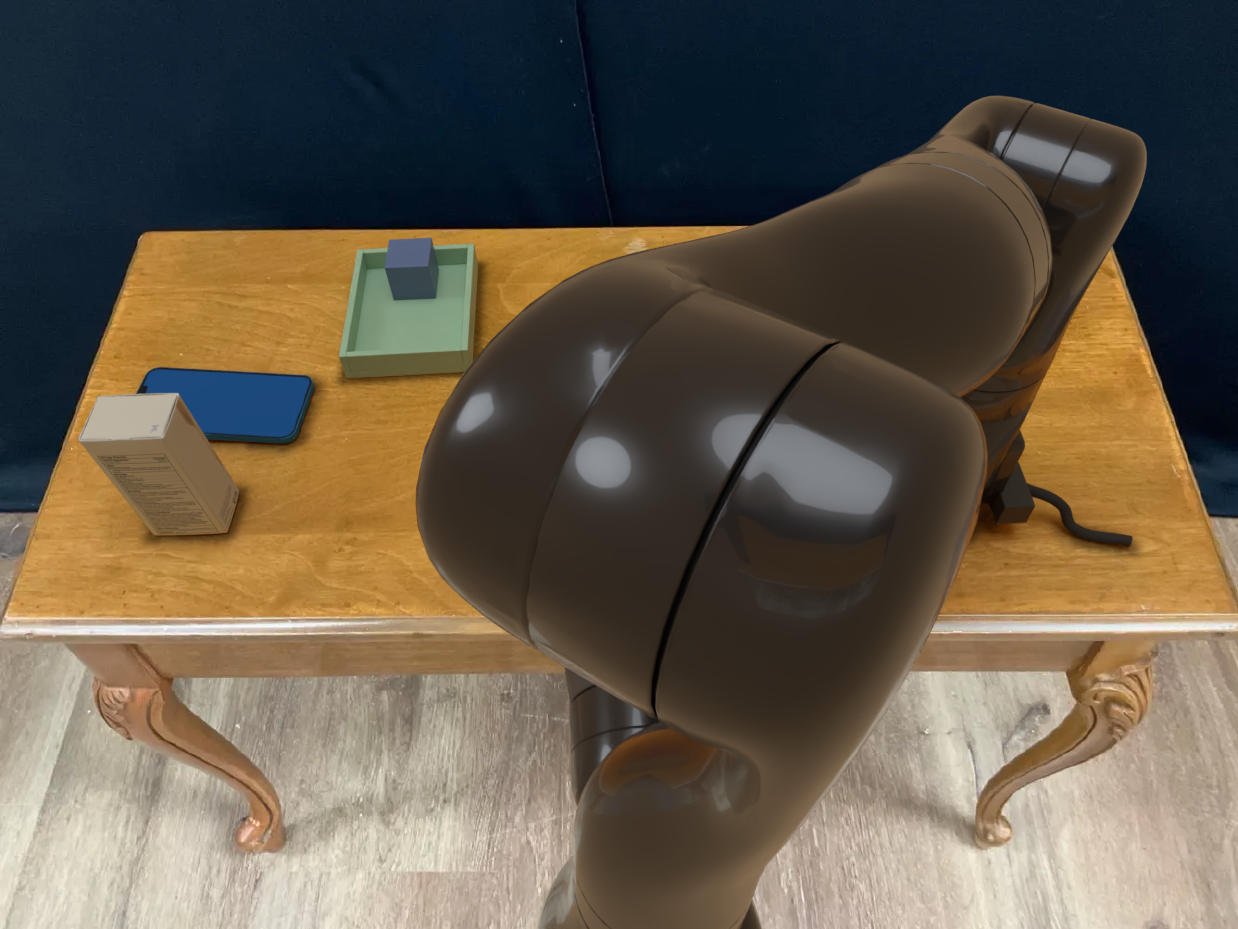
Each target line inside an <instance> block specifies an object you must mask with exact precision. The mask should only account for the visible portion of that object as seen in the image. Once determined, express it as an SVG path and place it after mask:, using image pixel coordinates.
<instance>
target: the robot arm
mask: <svg viewBox="0 0 1238 929" xmlns="http://www.w3.org/2000/svg"><path fill="white" fill-rule="evenodd" d="M1147 156H1148V155H1147V147H1146V144H1145V141H1144V140H1143V139H1142V137H1141V136H1140V135H1139V134H1137V133H1135V132H1133V131H1131V130H1129V129H1126V128H1123V127H1120V126H1117V125H1114V124H1111V123H1107V122H1104V121H1100V120H1097V119H1094V118H1090V117H1086V116H1084V115H1079V114H1076V113H1073V112H1070V111H1066V110H1063V109H1059V108H1056V107H1052V106H1048V105H1046V104H1042V103H1038V102H1036V103H1035V102H1034V101H1031V100H1027V99H1023V98H1019V97H1013V96H1007V95H989V96H988V95H987V96H984V97H981V98H979V99H976V100H974V101H972V102H970V103H969V104H967V105H966V106H964V107H963V108H962V109H961V110H960V111H959V112H958V113H956V114H955V115H954V116H953V117H952V118H951V119H950V120H949V121H948V122H947V123H946V124H944V126H942V128H940V129H939V130H938V131H937V132H936V133H935V134H934V135H933V136H932V137H931V138H930V139H928V141H927V142H925V143H923V144H922V145H920V146H919V147H917V148H916V149H914V150H912V151H910V152H909V153H907V154H904V155H901V156H898V157H896V158H893V159H890V160H888V161H886V162H883V163H882V164H880V165H878V166H877V167H874V168H872V169H870V170H868V171H866V172H864V173H861V174H860V175H858V176H856V177H854V178H851V179H850V180H849V181H847V182H846V183H844V184H842V185H841V186H840V187H838V188H837V189H835V190H833V191H832V192H830V193H828V194H825V195H823V196H820V197H817V198H816V199H813V200H810V201H808V202H806V203H804V204H801V205H798V206H796V207H794V208H791V209H788V210H787V211H785V212H783V213H780V214H777V215H776V216H774V217H771V218H769V219H768V218H767V219H766V220H763V221H761V222H758V223H754V224H752V225H749V226H745V227H742V228H739V229H736V230H732V231H729V232H723V233H718V234H714V235H709V236H705V237H701V238H700V237H699V238H696V239H691V240H687V241H682V242H676V243H672V244H668V245H663V246H659V247H654V248H649V249H645V250H639V251H635V252H631V253H628V254H625V255H620V256H617V257H614V258H610V259H607V260H605V261H602V262H599V263H597V264H594V265H592V266H589V267H587V268H584V269H582V270H580V271H578V272H577V273H575V274H572V275H570V276H569V277H567V278H564V279H563V280H561V281H560V282H559V283H557V284H555V285H554V286H553V287H551V288H550V289H549V290H547V291H546V292H543V294H541V295H539V297H537V298H536V299H534V300H533V301H531V302H530V303H528V305H526V306H525V307H524V308H523V309H522V310H521V311H520V312H519V313H517V314H516V315H515V317H514V318H512V319H511V320H510V321H509V322H508V323H507V324H506V325H505V326H503V327H502V328H501V329H500V330H499V331H498V332H497V333H496V334H495V335H494V336H493V337H492V338H491V339H490V340H489V342H487V344H486V345H485V346H484V348H482V350H481V352H479V354H478V355H477V356H476V357H475V359H473V363H472V364H471V365H470V366H469V367H468V369H467V370H466V371H465V372H463V373H462V374H461V376H460V378H459V380H458V381H457V383H456V384H455V386H454V388H453V389H452V390H451V392H450V394H449V396H448V397H447V399H446V400H445V402H444V404H443V406H442V407H441V408H440V411H439V412H438V415H437V418H436V420H435V422H434V424H433V427H432V429H431V431H430V434H429V436H428V439H427V441H426V443H425V446H424V450H423V453H422V458H421V463H420V468H419V472H418V477H417V482H416V487H415V514H416V525H417V528H418V532H419V534H420V538H421V541H422V544H423V547H424V550H425V552H426V555H427V559H428V560H429V561H430V563H431V565H432V566H433V568H434V570H436V572H437V574H438V575H439V577H440V578H441V579H442V580H443V581H444V582H445V584H447V586H449V587H450V589H452V590H453V592H455V593H456V594H457V595H458V596H459V597H460V598H461V599H463V601H465V602H466V603H467V604H469V605H470V606H471V607H473V608H474V609H475V610H476V611H477V612H478V613H479V614H481V615H482V616H483V617H484V618H486V619H488V620H489V621H490V622H492V623H493V624H495V625H496V626H497V627H499V628H500V629H502V630H503V631H505V632H506V633H507V634H509V635H511V636H513V637H514V638H515V639H517V640H518V641H520V642H522V643H524V644H525V645H527V646H528V647H530V648H532V649H535V650H536V651H538V652H540V654H542V655H544V656H545V657H547V658H549V659H550V660H552V661H554V662H555V663H558V664H559V665H560V666H563V667H564V674H565V675H564V676H565V681H566V687H567V693H568V699H569V700H568V701H569V730H570V732H569V733H570V734H569V735H570V736H569V737H570V738H569V739H570V768H571V769H570V772H571V788H572V796H573V800H574V803H575V805H576V811H575V816H574V823H573V834H572V855H571V856H570V858H569V859H568V860H567V861H566V862H565V863H564V864H563V866H562V868H561V869H560V870H559V871H558V873H557V874H556V877H555V878H554V879H553V881H552V883H551V885H550V886H549V890H548V892H547V894H546V896H545V899H544V901H543V902H544V903H543V905H542V908H541V911H540V915H539V919H538V923H537V928H536V929H764V928H763V924H762V922H761V918H760V915H759V912H758V909H757V907H756V904H755V902H754V895H755V892H756V890H757V887H758V884H759V882H760V880H761V877H762V876H763V873H764V871H765V870H766V868H767V867H768V865H769V864H770V863H771V861H772V860H774V858H775V857H776V856H777V855H778V854H779V852H780V851H781V850H782V849H783V848H784V847H785V846H786V845H787V844H788V843H789V842H790V840H791V839H792V838H793V837H794V836H795V835H796V834H797V832H798V831H799V830H800V829H801V828H802V827H803V825H805V823H806V822H807V821H808V820H809V818H810V817H811V816H812V815H813V813H814V812H815V811H816V809H817V808H818V807H819V805H820V804H821V803H822V802H823V800H824V798H826V796H827V795H828V793H829V792H830V791H831V789H832V788H833V787H834V785H835V784H836V782H837V781H838V780H839V779H840V777H841V776H842V775H843V774H844V773H845V771H847V769H848V767H849V766H850V764H851V763H852V762H853V761H854V760H855V758H856V756H857V755H858V754H859V753H860V751H861V749H863V747H864V745H865V744H866V743H867V741H869V739H870V738H871V736H872V735H873V733H874V732H875V730H876V728H877V727H878V726H879V724H880V723H881V721H882V719H883V718H884V716H885V715H886V713H887V712H888V710H889V709H890V708H891V706H892V704H893V702H894V700H895V698H896V697H897V695H898V694H899V692H900V690H901V689H902V687H903V685H904V683H905V681H906V680H907V678H908V677H909V674H910V673H911V671H912V669H913V668H914V666H915V664H916V662H917V661H918V658H919V656H920V654H921V653H922V651H923V648H924V647H925V645H926V643H927V641H928V638H929V637H930V634H931V632H932V630H933V628H934V626H935V624H936V622H937V621H938V617H939V615H940V614H941V611H942V609H943V607H944V605H945V603H946V601H947V599H948V597H949V594H950V592H951V591H952V588H953V586H954V584H955V582H956V580H957V577H958V574H959V572H960V570H961V566H962V564H963V561H964V560H965V556H966V553H967V551H968V548H969V545H970V542H971V539H972V537H973V534H974V531H975V528H976V525H977V524H980V523H981V524H983V523H987V522H989V521H990V519H991V517H993V518H994V522H995V524H996V525H1010V524H1011V525H1013V524H1026V523H1027V522H1028V520H1029V518H1030V517H1031V515H1032V513H1033V511H1034V510H1035V508H1036V503H1035V501H1034V498H1035V499H1038V500H1041V501H1043V502H1046V503H1047V504H1049V505H1052V506H1053V507H1054V508H1055V509H1057V510H1058V512H1059V515H1060V520H1061V523H1062V525H1063V527H1064V528H1065V529H1066V530H1067V531H1068V532H1069V533H1071V534H1073V535H1074V536H1076V537H1078V538H1080V539H1083V540H1085V541H1089V542H1095V543H1099V544H1100V543H1102V544H1111V545H1119V546H1123V547H1130V546H1131V545H1132V543H1133V536H1132V535H1129V534H1123V533H1115V532H1108V531H1100V530H1094V529H1089V528H1088V527H1087V528H1086V527H1084V526H1082V525H1080V524H1079V523H1077V522H1075V519H1074V516H1073V511H1072V508H1071V507H1070V505H1069V504H1068V502H1067V501H1066V500H1064V499H1063V498H1062V497H1061V496H1060V495H1058V494H1056V493H1054V492H1052V491H1050V490H1047V489H1045V488H1042V487H1039V486H1036V485H1033V484H1031V483H1028V482H1027V480H1026V477H1025V475H1024V472H1023V469H1022V467H1021V464H1020V459H1021V457H1022V455H1023V453H1024V451H1025V449H1026V442H1025V441H1026V440H1025V439H1024V436H1023V433H1022V431H1021V429H1022V427H1023V424H1024V422H1025V420H1026V418H1027V416H1028V414H1029V412H1030V409H1031V407H1032V405H1033V403H1034V401H1035V399H1036V397H1037V394H1038V392H1039V391H1040V388H1041V386H1042V384H1043V382H1044V380H1045V377H1046V375H1047V374H1048V372H1049V369H1050V367H1051V366H1052V364H1053V363H1054V362H1053V361H1054V360H1055V357H1056V355H1057V353H1058V350H1059V349H1060V346H1061V343H1062V341H1063V339H1064V337H1065V334H1066V332H1067V330H1068V328H1069V325H1070V324H1071V323H1072V322H1071V321H1072V320H1073V318H1074V316H1075V313H1076V311H1077V309H1078V307H1079V305H1080V303H1081V302H1082V299H1083V298H1084V296H1085V294H1086V292H1087V291H1088V289H1089V287H1090V285H1091V284H1092V282H1093V280H1094V279H1095V276H1096V275H1097V273H1098V271H1099V270H1100V268H1101V267H1102V264H1103V263H1104V261H1105V259H1106V257H1107V256H1108V254H1109V252H1110V251H1111V249H1112V247H1113V245H1114V244H1115V242H1116V240H1117V238H1118V236H1119V235H1120V233H1121V231H1122V229H1123V227H1124V225H1125V223H1126V221H1127V220H1128V218H1129V216H1130V214H1131V212H1132V210H1133V208H1134V206H1135V203H1136V200H1137V198H1138V196H1139V193H1140V191H1141V188H1142V185H1143V182H1144V178H1145V174H1146V171H1147V170H1146V169H1147V164H1148V163H1147V160H1148V158H1147Z"/></svg>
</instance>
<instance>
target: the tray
mask: <svg viewBox="0 0 1238 929" xmlns="http://www.w3.org/2000/svg"><path fill="white" fill-rule="evenodd" d="M387 250H388V247H379V248H361V249H360V248H358V249H356V255H355V261H354V267H353V272H352V278H351V283H350V284H351V285H350V290H349V296H348V302H347V307H346V313H345V319H344V324H343V329H342V330H343V331H342V336H341V342H340V349H339V353H338V358H339V361H340V364H341V367H342V369H343V373H344V375H345V378H346V379H360V378H362V379H363V378H381V377H399V376H419V375H435V374H454V373H455V374H456V373H464V372H465V371H466V370H467V369H468V367H469V366H470V365H471V364H472V363H473V361H474V348H475V347H474V346H475V332H476V331H475V329H476V312H477V297H478V296H477V294H478V293H477V292H478V278H479V276H478V275H479V263H478V257H477V251H476V246H475V243H457V244H456V243H455V244H439V245H435V244H434V250H435V254H436V259H437V263H438V268H439V275H438V284H437V293H436V298H434V299H411V300H393V296H392V292H391V289H390V285H389V282H388V278H387V275H386V271H385V263H386V256H387Z"/></svg>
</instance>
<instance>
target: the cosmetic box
mask: <svg viewBox="0 0 1238 929" xmlns="http://www.w3.org/2000/svg"><path fill="white" fill-rule="evenodd" d="M77 440H78V442H79V443H80V444H81V446H82V447H83V448H84V449H85V451H86V452H87V453H88V454H89V455H90V457H91V458H92V459H93V461H94V462H95V463H96V464H97V466H98V467H99V468H100V469H101V471H102V472H103V473H104V474H105V476H106V477H107V479H108V480H109V481H110V482H111V484H112V485H113V486H114V487H115V489H117V491H118V492H119V493H120V494H121V496H122V497H123V498H124V500H125V501H126V502H127V503H128V505H129V506H130V507H131V508H132V510H133V511H134V513H135V514H136V515H137V516H138V517H139V519H140V520H141V521H142V522H143V523H144V525H145V527H147V529H148V530H149V531H150V533H151V534H152V535H154V536H192V535H193V536H195V535H196V536H197V535H215V534H226V533H228V532H229V530H230V526H231V524H232V521H233V517H234V513H235V511H236V507H237V503H238V499H239V496H240V495H239V494H240V489H239V488H238V486H237V485H236V483H235V481H234V480H233V478H232V477H231V474H230V473H229V471H228V470H227V468H226V467H225V465H224V464H223V462H222V460H221V459H220V457H219V456H218V454H217V452H216V450H215V449H214V448H213V446H212V445H211V442H210V441H209V439H207V438H206V436H205V435H204V433H203V432H202V430H201V428H200V427H199V425H198V424H197V422H196V420H195V419H194V417H193V416H192V414H191V413H190V411H189V409H188V408H187V406H186V404H185V403H184V401H183V400H182V398H181V397H180V395H179V394H178V393H147V394H136V393H129V394H128V393H127V394H111V395H98V396H97V397H96V400H95V401H94V404H93V406H92V408H91V410H90V412H89V414H88V416H87V419H86V421H85V423H84V425H83V427H82V429H81V432H80V434H79V436H78V438H77Z"/></svg>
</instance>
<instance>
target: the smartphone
mask: <svg viewBox="0 0 1238 929" xmlns="http://www.w3.org/2000/svg"><path fill="white" fill-rule="evenodd" d="M314 391H315V384H314V381H313V379H312V377H310V376H309V375H307V374H293V373H292V374H291V373H275V372H274V373H273V372H259V371H258V372H255V371H241V370H240V371H238V370H223V369H221V370H220V369H203V368H201V369H200V368H187V367H166V366H156V367H154V368H151V369H150V370H148V371H147V372H146V373H145V374H144V377H143V379H142V381H141V383H140V384H139V387H138V389H137V391H136V392H135V394H147V393H178V394H179V395H180V397H181V398H182V400H183V401H184V403H185V404H186V406H187V408H188V409H189V411H190V413H191V414H192V416H193V417H194V419H195V420H196V422H197V424H198V425H199V427H200V428H201V430H202V432H203V433H204V435H205V436H206V438H207V440H214V441H215V440H216V441H233V442H234V441H235V442H251V443H265V444H266V443H267V444H281V445H283V444H289V443H292V442H293V441H295V440H296V439H297V437H298V435H299V434H300V430H301V428H302V424H303V422H304V419H305V416H306V413H307V410H308V407H309V405H310V403H311V399H312V396H313V393H314Z"/></svg>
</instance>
